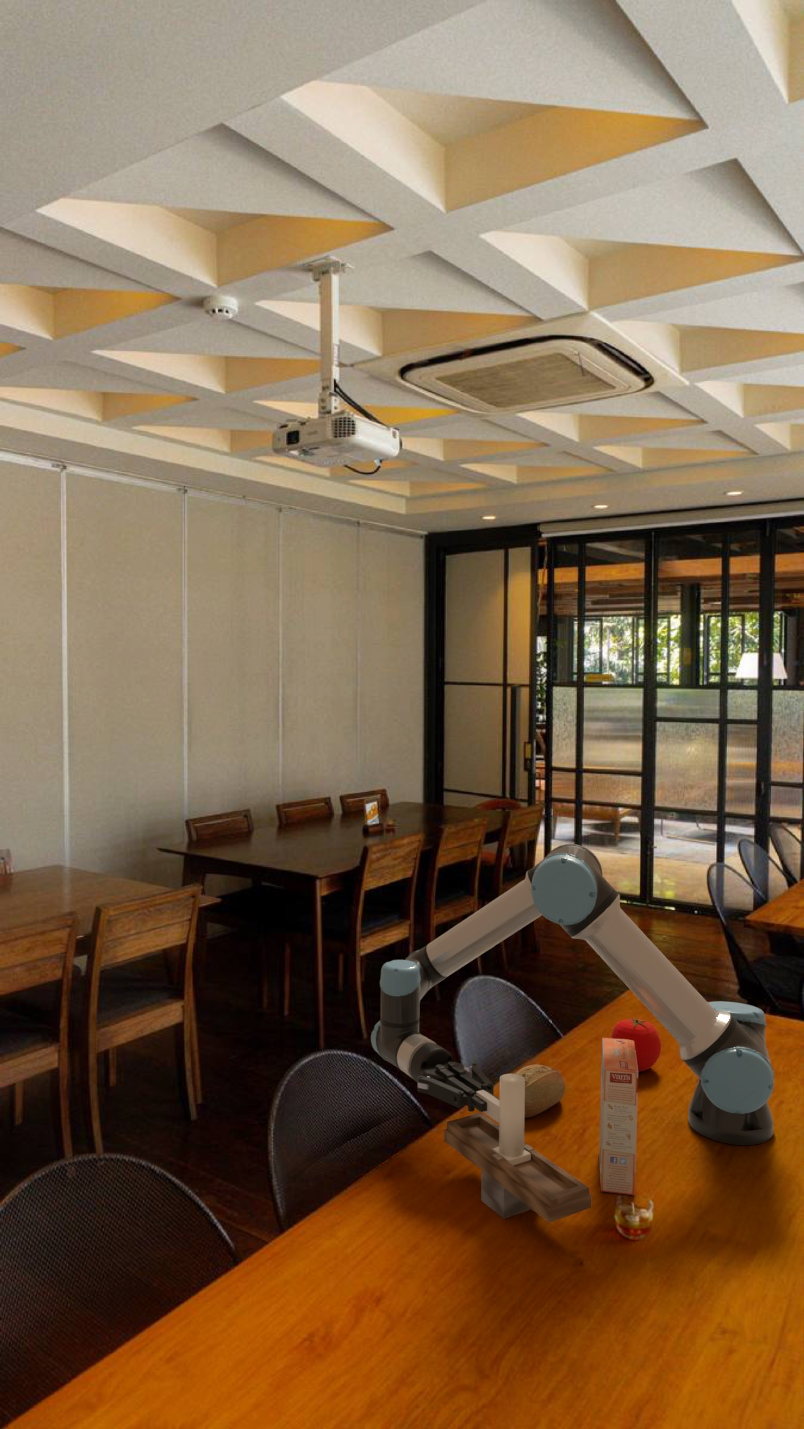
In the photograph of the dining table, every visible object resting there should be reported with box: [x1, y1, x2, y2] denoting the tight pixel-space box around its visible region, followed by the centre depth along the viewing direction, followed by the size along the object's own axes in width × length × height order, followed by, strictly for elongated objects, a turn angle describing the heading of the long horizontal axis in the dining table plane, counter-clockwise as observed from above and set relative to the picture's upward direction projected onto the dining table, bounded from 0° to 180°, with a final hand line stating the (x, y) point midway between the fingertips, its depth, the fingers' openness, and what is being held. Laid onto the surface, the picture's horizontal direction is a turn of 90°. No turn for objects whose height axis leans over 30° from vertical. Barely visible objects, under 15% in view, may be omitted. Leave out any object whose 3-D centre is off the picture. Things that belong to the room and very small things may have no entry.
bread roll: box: [515, 1063, 566, 1119], centre depth 185 cm, size 10×15×8 cm, turn 138°
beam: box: [443, 1112, 592, 1224], centre depth 151 cm, size 28×8×8 cm, turn 31°
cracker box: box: [598, 1037, 639, 1196], centre depth 160 cm, size 14×6×21 cm, turn 169°
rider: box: [492, 1073, 531, 1165], centre depth 151 cm, size 4×4×13 cm
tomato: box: [610, 1017, 662, 1073], centre depth 204 cm, size 10×11×11 cm
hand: (502, 1113), depth 153 cm, fingers closed
